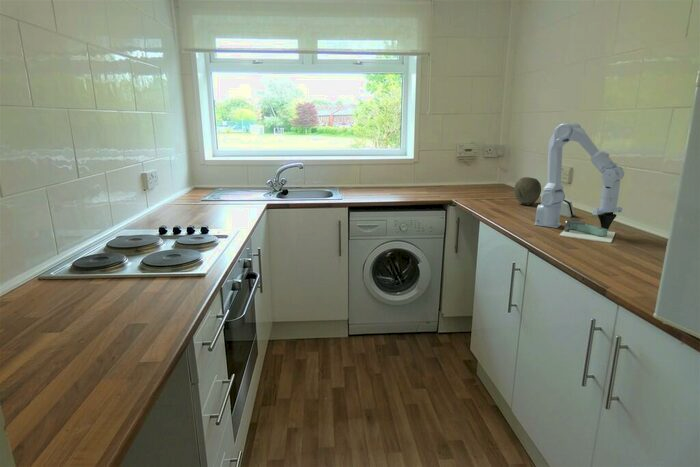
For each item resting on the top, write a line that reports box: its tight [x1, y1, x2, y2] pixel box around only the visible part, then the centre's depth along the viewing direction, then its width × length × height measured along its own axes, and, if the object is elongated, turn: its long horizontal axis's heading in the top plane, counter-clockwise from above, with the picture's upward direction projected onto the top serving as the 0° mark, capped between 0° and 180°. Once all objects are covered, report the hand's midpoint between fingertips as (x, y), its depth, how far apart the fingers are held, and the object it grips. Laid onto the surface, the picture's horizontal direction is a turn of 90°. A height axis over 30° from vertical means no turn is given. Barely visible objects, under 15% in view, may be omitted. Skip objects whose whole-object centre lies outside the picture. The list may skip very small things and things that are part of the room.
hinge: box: [540, 198, 577, 218], centre depth 210 cm, size 17×5×10 cm, turn 28°
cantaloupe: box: [513, 176, 542, 206], centre depth 234 cm, size 14×14×15 cm
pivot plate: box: [559, 217, 616, 244], centre depth 172 cm, size 18×18×5 cm
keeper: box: [563, 220, 586, 232], centre depth 175 cm, size 7×2×4 cm, turn 67°
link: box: [570, 223, 609, 236], centre depth 175 cm, size 17×5×2 cm, turn 24°
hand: (604, 231), depth 171 cm, fingers closed
